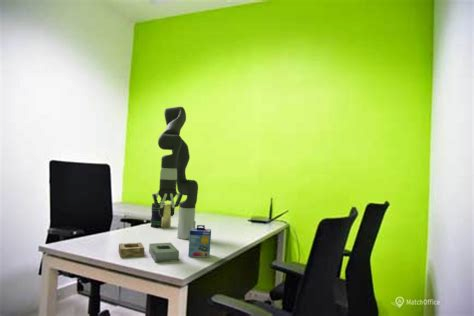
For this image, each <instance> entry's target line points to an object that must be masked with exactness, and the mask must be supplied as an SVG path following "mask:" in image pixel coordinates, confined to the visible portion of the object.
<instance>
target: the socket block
mask: <svg viewBox="0 0 474 316" xmlns="http://www.w3.org/2000/svg"><path fill="white" fill-rule="evenodd" d="M118 255H119V257H120V258H130V257H144V255H145V246H144V245H143V243H142V242H127V243H125V242H124V243H119V244H118Z"/></svg>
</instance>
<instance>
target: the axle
mask: <svg viewBox="0 0 474 316" xmlns="http://www.w3.org/2000/svg"><path fill="white" fill-rule="evenodd" d="M171 207H172V205H171V204H170V203H165V204H164V205H163V217H162V225H161V227H164V229H165V228H168V229H169V228H171V223H172V220H171V219H172V216H171Z"/></svg>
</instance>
